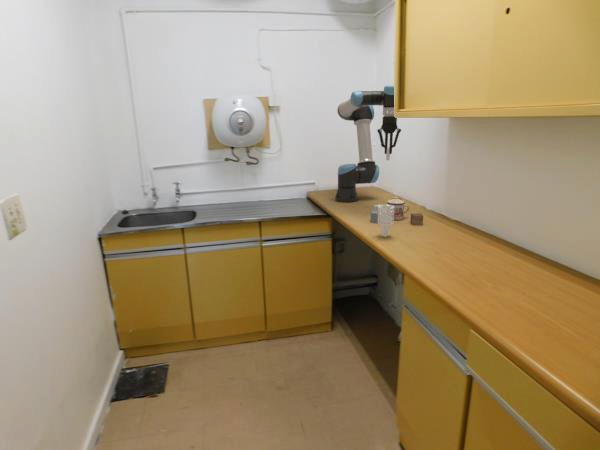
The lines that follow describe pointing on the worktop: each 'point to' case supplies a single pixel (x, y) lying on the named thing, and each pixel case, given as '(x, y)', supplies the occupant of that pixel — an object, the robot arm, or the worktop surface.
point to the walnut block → (416, 219)
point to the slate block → (374, 217)
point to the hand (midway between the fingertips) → (387, 159)
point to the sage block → (376, 207)
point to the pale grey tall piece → (385, 218)
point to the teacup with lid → (398, 208)
